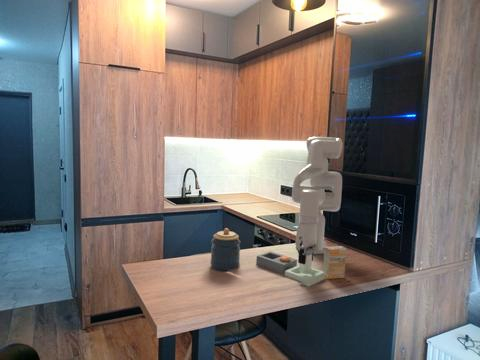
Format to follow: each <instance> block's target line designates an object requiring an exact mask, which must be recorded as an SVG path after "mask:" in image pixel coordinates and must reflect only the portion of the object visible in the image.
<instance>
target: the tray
mask: <svg viewBox="0 0 480 360" xmlns="http://www.w3.org/2000/svg"><path fill="white" fill-rule="evenodd" d="M284 277H287V278H290V279H293V280H296V281H299V282H298V284H301V285H303V286H306V287H311V286H313V285H315V284H317V283H319V282H321V281H324V280H325V272H323V270H319V269H317V268H313V267H311V273H310V274H303V273H300V272H299V264H297V266H296V267H293V268H291V269H288V270H286V271H285V273H284Z"/></svg>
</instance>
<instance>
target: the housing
mask: <svg viewBox="0 0 480 360" xmlns="http://www.w3.org/2000/svg"><path fill="white" fill-rule="evenodd" d="M281 256H285V254H284V255H283V254H280V253H277V252H274V251H267V252H264V253H261V254H258V255H256V261H255V262H256V263H255V264H256V265H257V266H260V267H263V268H264V269H267V270H268V269H269V270H271V271H274V272H277V273H279V274H282V275H285V271H286V270H288V269H291V268H293V267H296V266H298V263H297V262H298V259H296V258H292V257H290V261H288V262H283V261H281V260H280V257H281Z"/></svg>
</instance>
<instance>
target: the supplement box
mask: <svg viewBox="0 0 480 360" xmlns="http://www.w3.org/2000/svg"><path fill="white" fill-rule="evenodd" d="M324 248H325V249H324V254H323V262H322V271H323V272H325V277H324V279H327V280H331V279H332V280H333V279H345V273H346V264H347V263H346V260H347V250H348V249H347V248H346V247H344V246H343V245H338V246H337V245H333V246H328V245H327V246H326V245H324Z"/></svg>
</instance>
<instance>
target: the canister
mask: <svg viewBox="0 0 480 360" xmlns="http://www.w3.org/2000/svg"><path fill="white" fill-rule="evenodd" d="M239 238H240V236H239V234H237V233H236V232H234V231H230V229H229V228H227V227H226V228H224V229H223V230H221V231H217V232H216V233H214V234H213V238H211V241H210V242H211V244H212V245H211V247H210V249H211V252H210V254H211V255H210V267H211V269H213V270H215V271H218V272H229V271H231V270H235V269H237V268H239V267H240V256H241V255H240V253H241V247H240V244H241V240H240V239H239Z"/></svg>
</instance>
